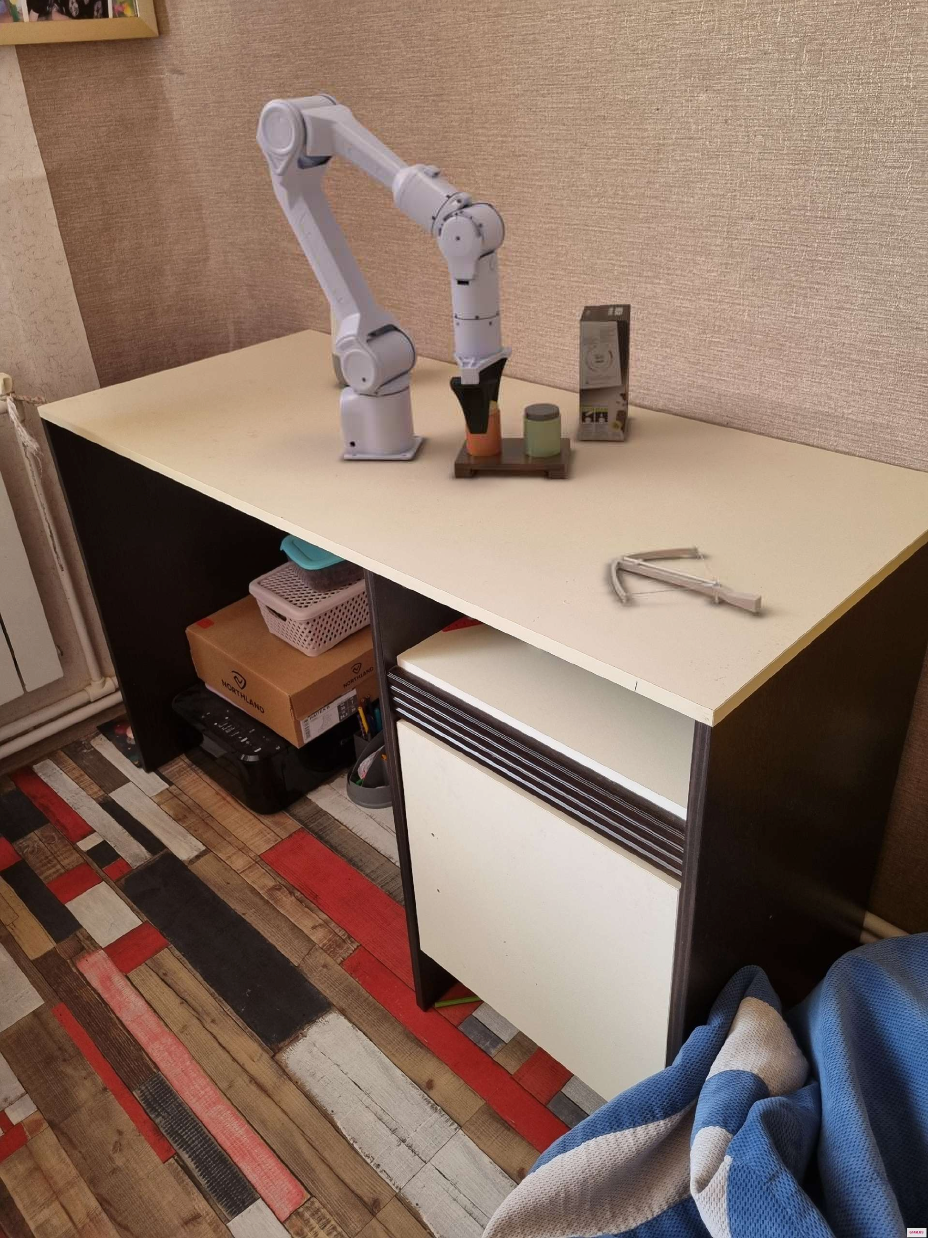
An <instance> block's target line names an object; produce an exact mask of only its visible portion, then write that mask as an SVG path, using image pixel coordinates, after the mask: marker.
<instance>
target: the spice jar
mask: <svg viewBox="0 0 928 1238" xmlns="http://www.w3.org/2000/svg"><path fill="white" fill-rule="evenodd" d="M499 407H500V406H499V402H498V403H497V402H495V401H491V402H490V411H489V422H488V428H487V432H486V434H470V432H469V430H468V427H467V424H466V420H465V419H464V431H465V432H464V433H465V440H466V447H467V453H468V454H470V455H473V456H479V457H485V456H492V455H495V454H498V453H500V452H501V451H502V438H503V437H502V417H501V416H502V415H501V409H500V408H499Z"/></svg>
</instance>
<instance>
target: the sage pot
mask: <svg viewBox="0 0 928 1238" xmlns="http://www.w3.org/2000/svg"><path fill="white" fill-rule="evenodd" d="M522 431H523V437H522V438H524V452H525V454H527V455H529V456H533V457H550V456H554V455H556V454H558V453H560V452H561V438H562V414H561V412H560V407H559V406H558V405H556V404H553V403H546V402H544V403H534V404H530V405H527V406H525V408H524V410H523V415H522Z"/></svg>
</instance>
